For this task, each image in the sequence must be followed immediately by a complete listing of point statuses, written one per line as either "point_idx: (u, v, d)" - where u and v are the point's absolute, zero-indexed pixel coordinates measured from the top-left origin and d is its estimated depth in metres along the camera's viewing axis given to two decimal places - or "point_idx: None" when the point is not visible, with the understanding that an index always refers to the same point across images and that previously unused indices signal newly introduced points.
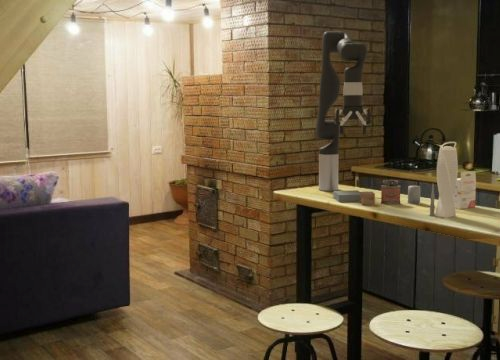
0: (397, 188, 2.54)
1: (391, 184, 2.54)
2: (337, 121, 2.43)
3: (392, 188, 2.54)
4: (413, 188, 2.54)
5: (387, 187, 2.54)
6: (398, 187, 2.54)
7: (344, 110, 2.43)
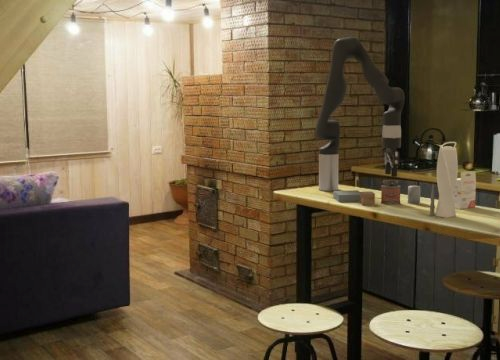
0: (397, 188, 2.54)
1: (391, 184, 2.54)
2: None
3: (392, 188, 2.54)
4: (413, 188, 2.54)
5: (387, 187, 2.54)
6: (398, 187, 2.54)
7: None
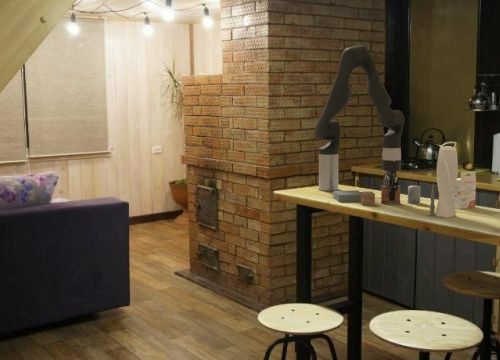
0: None
1: None
2: None
3: None
4: (413, 188, 2.54)
5: (387, 187, 2.54)
6: (398, 187, 2.54)
7: (396, 175, 2.51)
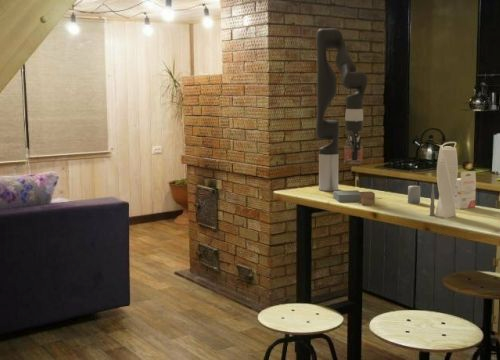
0: None
1: None
2: None
3: None
4: (413, 188, 2.54)
5: (350, 147, 2.62)
6: (360, 147, 2.62)
7: (358, 135, 2.59)
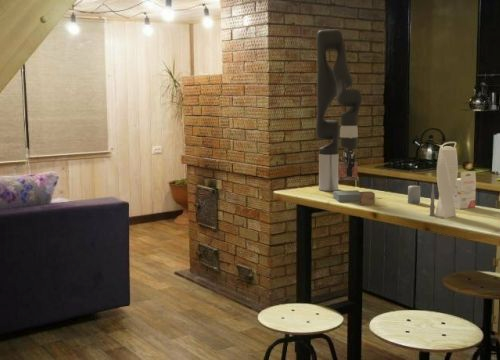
0: (354, 164, 2.63)
1: None
2: None
3: None
4: (413, 188, 2.54)
5: (344, 163, 2.63)
6: (355, 163, 2.63)
7: (353, 152, 2.61)
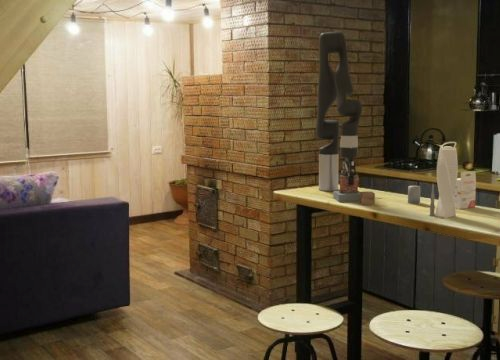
0: (355, 178, 2.64)
1: None
2: None
3: None
4: (413, 188, 2.54)
5: (345, 177, 2.64)
6: (356, 177, 2.64)
7: None
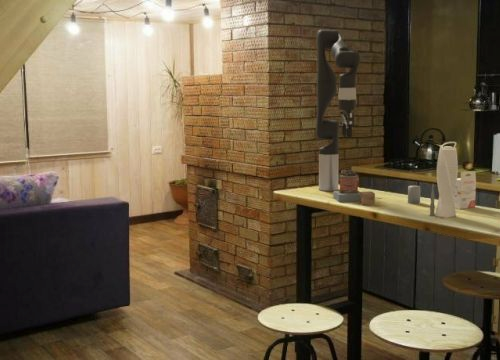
0: (355, 178, 2.64)
1: (349, 174, 2.64)
2: None
3: (350, 178, 2.64)
4: (413, 188, 2.54)
5: (345, 177, 2.64)
6: (356, 177, 2.64)
7: None
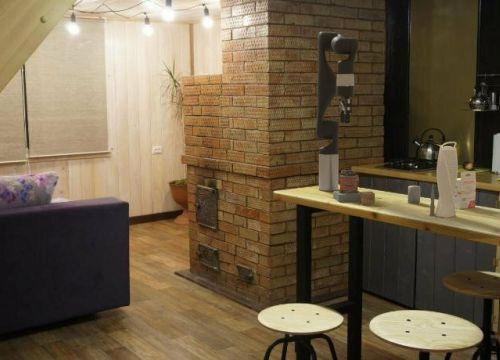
0: (355, 178, 2.64)
1: (349, 174, 2.64)
2: None
3: (350, 178, 2.64)
4: (413, 188, 2.54)
5: (345, 177, 2.64)
6: (356, 177, 2.64)
7: None
